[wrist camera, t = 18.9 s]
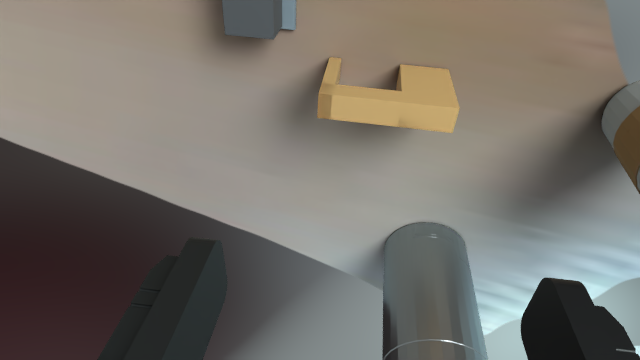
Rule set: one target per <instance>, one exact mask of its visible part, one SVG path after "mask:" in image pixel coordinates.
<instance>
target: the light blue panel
mask: <svg viewBox="0 0 640 360" xmlns="http://www.w3.org/2000/svg"><path fill="white" fill-rule="evenodd" d="M222 6H223V5H222ZM223 17H224V16H223ZM281 29H290V30H295V29H296V0H282V27H281Z"/></svg>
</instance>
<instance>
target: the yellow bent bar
mask: <svg viewBox="0 0 640 360" xmlns="http://www.w3.org/2000/svg"><path fill="white" fill-rule="evenodd" d="M340 68H341V58H332V57H330V58H329V61H328V64H327V68H326V71H325V74H324V77H323V81H322V84H321V87H320V90H319V95H318V114H317V118H324V119H332V120H341V121H350V122H359V123H368V124H377V125H386V126H395V127H404V128H413V129H422V130H431V131H439V132H448V133H453V129H454V126H455V122H456V119H457V116H458V112H459V109H460V108H459V105H458V101H457V98H456V94H455V91H454V87H453V84H452V80H451V77H450V73H449V70H448V69H441V68H431V67H421V66H411V65H401V64H400V69H399V75H398V80H397V86H396V90H397V91H394V90H385V89H375V88H366V87H356V86H347V85H338V84H339V80H340Z"/></svg>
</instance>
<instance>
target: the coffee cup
mask: <svg viewBox="0 0 640 360" xmlns="http://www.w3.org/2000/svg"><path fill="white" fill-rule="evenodd" d="M601 123H602V131H603V132H604V134H605V136H606V138H607V139H608V141H609V142H610V144H611V146H612V147H613V149H614V152H615V154H616V156H617V158H618V159H619V161H620V163H621V164H622V166H623V167H624V169H625V171H626V172H627V174H628V176H629V177H630V179H631V181H632V182H633V184H634V185H635V187H636V189H637V190H638V192H639V194H640V81H637V82H634V83H632V84H630V85H628V86H626V87H624V88H623V89H622V90H620V91H619V92H618V93H616V94H615V95H614V96H613V98H612V99H611V100H610V101H609V102H608V104H607V106H606V108H605V109H604V113H603V117H602V122H601Z"/></svg>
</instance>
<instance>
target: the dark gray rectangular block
mask: <svg viewBox="0 0 640 360" xmlns="http://www.w3.org/2000/svg"><path fill="white" fill-rule="evenodd" d="M222 5H223V16H224V27H225V35H234V36H244V37H254V38H264V39H274V38H275V37H276V35H277V34H278V32H279V31H280V29H281V27H282V0H222Z"/></svg>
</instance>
